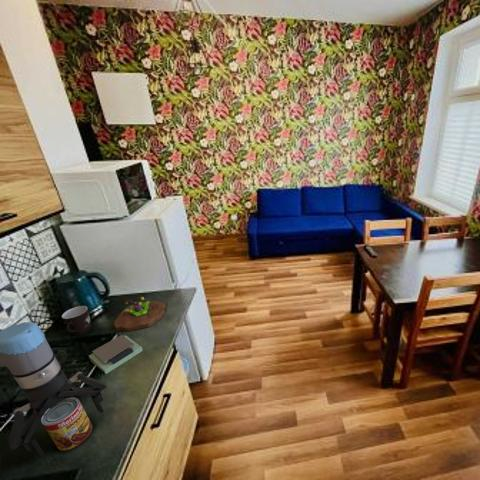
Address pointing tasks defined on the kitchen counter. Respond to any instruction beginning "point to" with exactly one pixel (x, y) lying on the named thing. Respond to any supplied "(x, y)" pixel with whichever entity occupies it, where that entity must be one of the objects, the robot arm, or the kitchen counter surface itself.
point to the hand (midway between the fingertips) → (73, 430)
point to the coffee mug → (77, 320)
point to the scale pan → (112, 348)
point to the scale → (116, 358)
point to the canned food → (67, 423)
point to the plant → (139, 315)
